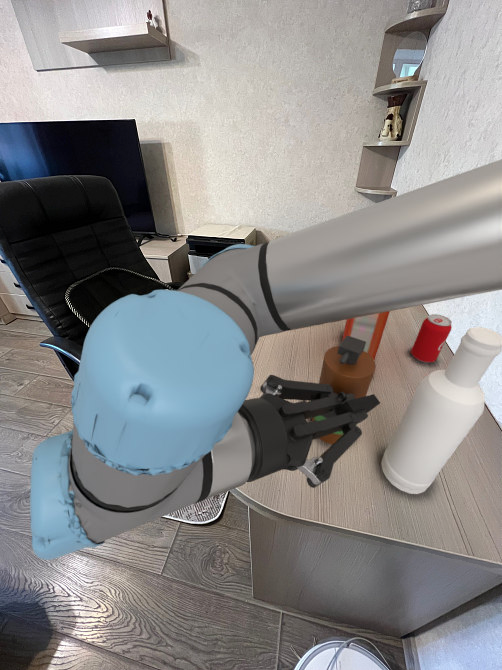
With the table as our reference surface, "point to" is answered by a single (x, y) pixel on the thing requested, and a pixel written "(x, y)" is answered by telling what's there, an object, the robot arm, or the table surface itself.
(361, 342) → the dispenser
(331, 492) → the table surface
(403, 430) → the bottle
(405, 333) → the table surface
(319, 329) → the table surface
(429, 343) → the beverage can
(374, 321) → the file binder
